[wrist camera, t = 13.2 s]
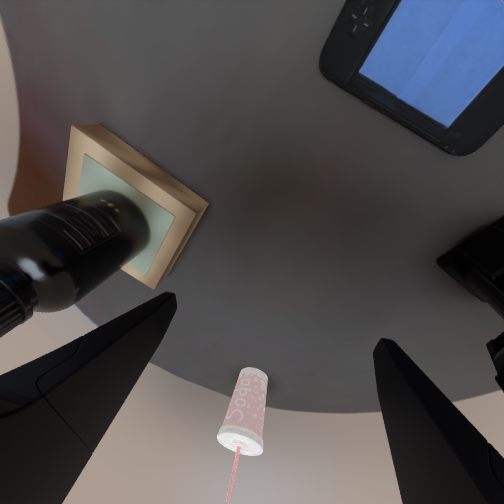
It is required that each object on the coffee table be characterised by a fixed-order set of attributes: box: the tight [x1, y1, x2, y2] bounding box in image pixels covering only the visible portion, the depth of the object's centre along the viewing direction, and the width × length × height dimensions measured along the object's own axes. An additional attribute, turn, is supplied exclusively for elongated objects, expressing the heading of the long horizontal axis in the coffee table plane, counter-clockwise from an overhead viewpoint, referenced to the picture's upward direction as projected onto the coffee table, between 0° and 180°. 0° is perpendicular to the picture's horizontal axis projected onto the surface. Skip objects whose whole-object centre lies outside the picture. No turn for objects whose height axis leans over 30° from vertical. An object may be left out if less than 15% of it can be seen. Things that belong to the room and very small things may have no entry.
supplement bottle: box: [0, 191, 149, 337], centre depth 16 cm, size 7×7×12 cm
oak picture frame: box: [63, 125, 209, 290], centre depth 22 cm, size 12×12×3 cm
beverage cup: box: [217, 367, 268, 503], centre depth 29 cm, size 6×6×14 cm
